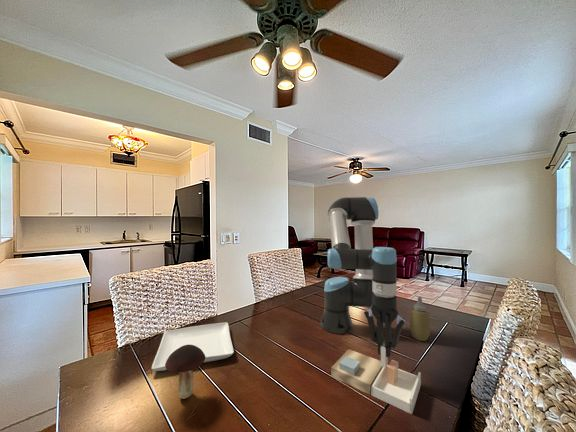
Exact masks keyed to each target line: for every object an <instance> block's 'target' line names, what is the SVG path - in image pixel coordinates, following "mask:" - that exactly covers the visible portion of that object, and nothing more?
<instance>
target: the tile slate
mask: <svg viewBox="0 0 576 432" xmlns="http://www.w3.org/2000/svg"><path fill="white" fill-rule="evenodd" d="M359 368H360V361H357V360H355V359H352V358H350V357H347V356H345V357H344V359H343V360H342V361H341V362H340V363H339V369H341V370H343V371H345V372H347V373H350V374H352V375H355V373H356V372H357V371H358V369H359Z"/></svg>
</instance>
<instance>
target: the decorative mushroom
mask: <svg viewBox="0 0 576 432" xmlns="http://www.w3.org/2000/svg"><path fill="white" fill-rule="evenodd" d="M204 360H205V354H204V353H203V351H202V350H201V349H200V348H198V347H197V346H194V345H184V346H182V347H180V348H178V349H176V350H175V351H174V352H173V353H172V354H171V355H170V356H169V357H168V359H167V361H166V363H165V367H166V369H167V370H166V371H168V372H169V373H176V374H177V373H178V384H177V385H178V387H177V389H178V391H177V392H178V396H179V398H180V399H183V400H184V399H188V398H190V396H192V395H193V391H194V373H193V372H194V371H193V370H195V369H198V368H199V367H200V366H201V365H202V364H203V363H205V362H204Z"/></svg>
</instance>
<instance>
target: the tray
mask: <svg viewBox="0 0 576 432" xmlns="http://www.w3.org/2000/svg"><path fill="white" fill-rule="evenodd" d="M388 366H389V364H388V365H387V366H386V368H384V367H382V369H381V371H380V373H379V374H378V376H377V378H376V379H375V381H374V383H373V384H372V386H371V394H370V395H371V396H372V397H374V398H377V399H379V400H380V401H382V402H385V403H387V404H389V405H391V406H393V407H395V408H398V409H400V410H401V411H404V412H405V413H407V414H410V415H413V412H414V410H415V406H416V402H417V400H418V397H419V396H418V395H419V393H420V389H421V386H422V373H421V372H420V371H418V374H417V375H416V374H413V373H410V372H409V371H406V370H403V369H400V368H398V378H397V380H396V382H395V384H394V385H391V384H389V383H387V370H388Z"/></svg>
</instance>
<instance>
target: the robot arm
mask: <svg viewBox="0 0 576 432" xmlns="http://www.w3.org/2000/svg"><path fill="white" fill-rule="evenodd" d="M379 213H380V212H379V205H378V203H377V200H376V199H375V198H374V197H368V196H363V197H362V196H360V197H359V196H358V197H350V196H349V197H346V196H345V197H340V198H338V199H336V200H335V201H334V202H333V203H332V204H331V205H330V206H329V208H328V210H327V219H328V221H329V222H330V223H329V224H330V239H331V248H329V249H327V266H328V268H330V269H336V270H355V274H354V276H352V280H349V278H348V277H345V276H344V277H343V276H334V277H331V278H328V279H327V280H326V281H324V289H323V291H324V311H323V313H322V317H321V320H320V326H321V329H323V330H324V331H325V332H327V333H331V334H338V335H340V334H341V335H342V334H343V335H344V334H348V333H350V332H352V330H353V320H352V316H351V314H350V310H349V308H350V307H356V308H358V307H359V308H369V309H366V310H365V311H364V313H363V314H364V316H365V317H366V319H367V323H368V328H369V333H370V338H371V341H372V342H373V343H375V344H377V354H378V355H380V361H381V367H384V368H386V366H387V365H389V358H390V357H391V355H392V349H395V348H396V347H397V346H398V342H399V339H400V334H401V331H402V327H403V326H404V325H405V323H406V318H405V317H401V316H400V315H399V312H398V309H397V304H398V303H397V299H398V298H397V296H396V295H397V294H398V293H397V291H398V290H397V261H398V258H397V250H396V249H395V248H394V247H389V246H388V247H387V246H375V247H374V242H373V226H374V225H375V223H376V220H378V219H379ZM347 220H350V222H351V224H352V226H353V227H354V248H352V246H351V240H350V235H349V228H348V223H347ZM374 318H375V319H376V324H375V319H374ZM395 319H396V327H395V331H394V333H393V337H392V323H393V322H394V321H395ZM376 325H377V327H376ZM384 329H385V333H384ZM384 334H385V335H384ZM384 337H385V339H384ZM384 341H385V343H384Z"/></svg>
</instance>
